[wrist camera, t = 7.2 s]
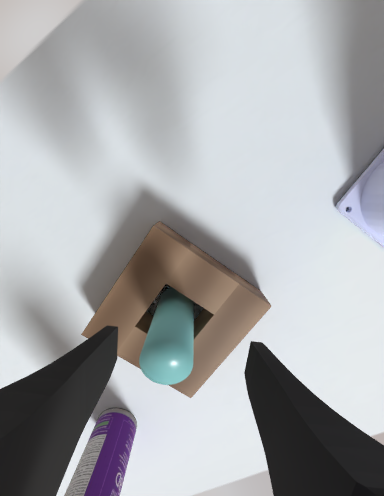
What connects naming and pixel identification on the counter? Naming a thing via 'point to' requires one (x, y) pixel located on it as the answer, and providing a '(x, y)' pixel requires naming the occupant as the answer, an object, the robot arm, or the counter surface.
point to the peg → (169, 340)
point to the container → (105, 456)
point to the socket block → (192, 286)
